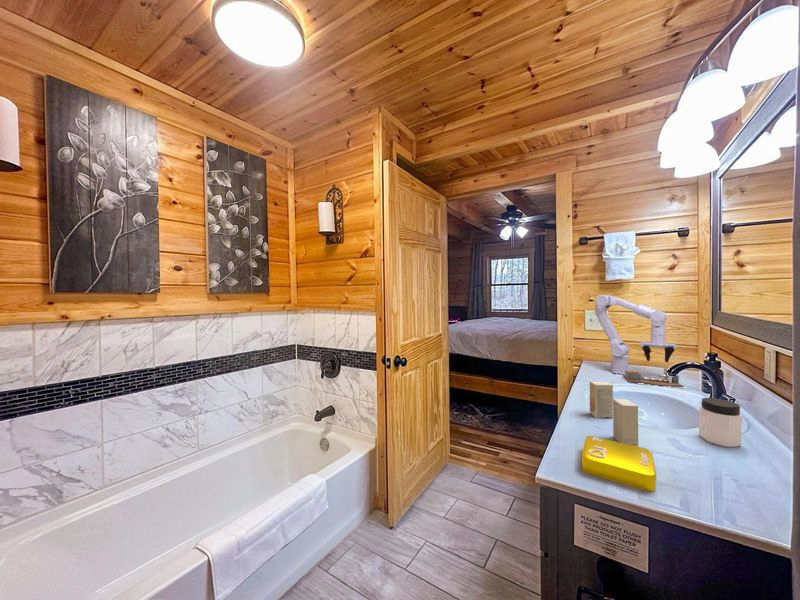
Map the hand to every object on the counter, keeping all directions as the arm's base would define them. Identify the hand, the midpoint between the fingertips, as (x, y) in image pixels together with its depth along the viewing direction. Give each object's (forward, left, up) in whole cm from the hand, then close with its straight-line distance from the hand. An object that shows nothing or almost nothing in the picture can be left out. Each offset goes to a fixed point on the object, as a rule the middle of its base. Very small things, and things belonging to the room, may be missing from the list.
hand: (657, 361), depth 159 cm
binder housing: (+7, -12, -9) cm, 17 cm away
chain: (+7, -3, -8) cm, 11 cm away
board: (+7, -5, -9) cm, 13 cm away
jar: (+72, -8, -10) cm, 73 cm away
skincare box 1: (+63, -37, -10) cm, 74 cm away
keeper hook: (+7, +2, -8) cm, 11 cm away
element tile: (+100, -41, -10) cm, 109 cm away
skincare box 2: (+83, -35, -10) cm, 91 cm away
